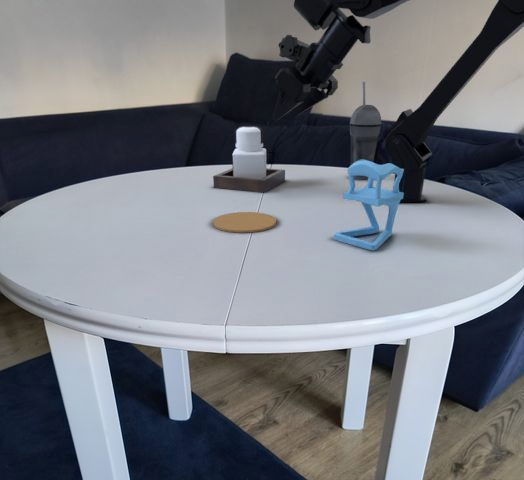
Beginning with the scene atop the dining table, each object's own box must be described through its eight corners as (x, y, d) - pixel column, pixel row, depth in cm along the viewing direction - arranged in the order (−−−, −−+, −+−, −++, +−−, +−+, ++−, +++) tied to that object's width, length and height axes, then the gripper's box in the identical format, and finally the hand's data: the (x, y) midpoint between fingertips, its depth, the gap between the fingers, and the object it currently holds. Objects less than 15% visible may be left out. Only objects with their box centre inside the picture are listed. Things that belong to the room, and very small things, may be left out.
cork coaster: (276, 232, 80) (276, 230, 79) (209, 232, 80) (209, 230, 79) (275, 214, 89) (275, 211, 89) (216, 214, 89) (216, 212, 89)
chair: (404, 238, 76) (416, 158, 70) (373, 251, 72) (382, 165, 65) (364, 228, 81) (372, 151, 75) (332, 239, 76) (338, 158, 70)
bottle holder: (285, 180, 113) (285, 169, 111) (263, 192, 103) (263, 180, 102) (238, 176, 117) (237, 165, 116) (213, 187, 107) (213, 175, 106)
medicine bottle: (236, 180, 113) (234, 124, 107) (266, 180, 113) (266, 124, 107) (233, 187, 107) (230, 128, 101) (265, 187, 107) (265, 128, 101)
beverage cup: (378, 181, 112) (389, 82, 101) (347, 181, 112) (354, 82, 101) (373, 174, 118) (383, 80, 107) (343, 174, 118) (350, 81, 108)
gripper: (322, 20, 98) (278, 86, 109) (281, 14, 84) (235, 91, 95) (359, 60, 98) (311, 122, 109) (324, 61, 84) (273, 133, 95)
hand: (284, 116), depth 102 cm, fingers open, 9 cm apart
